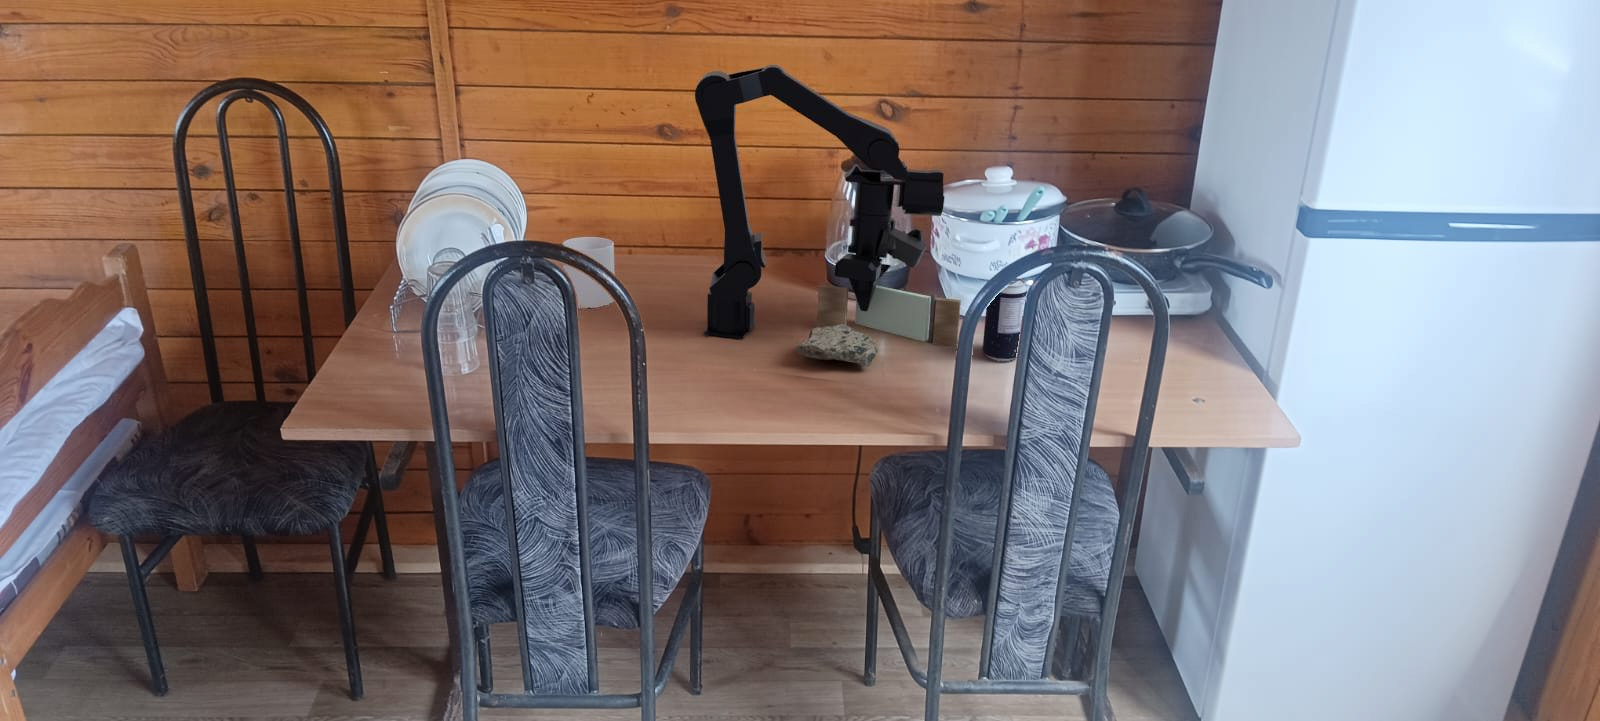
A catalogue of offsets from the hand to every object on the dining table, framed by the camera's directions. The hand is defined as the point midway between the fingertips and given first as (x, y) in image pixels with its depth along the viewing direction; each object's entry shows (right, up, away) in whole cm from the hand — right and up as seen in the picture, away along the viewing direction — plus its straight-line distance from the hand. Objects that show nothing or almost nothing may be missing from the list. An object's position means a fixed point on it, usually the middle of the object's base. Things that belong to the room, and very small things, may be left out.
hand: (864, 310), depth 179 cm
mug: (-45, +2, +14) cm, 47 cm away
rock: (-1, -10, -12) cm, 15 cm away
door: (+4, -3, +2) cm, 6 cm away
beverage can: (+20, -8, -6) cm, 22 cm away
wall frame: (+3, -4, 0) cm, 6 cm away
